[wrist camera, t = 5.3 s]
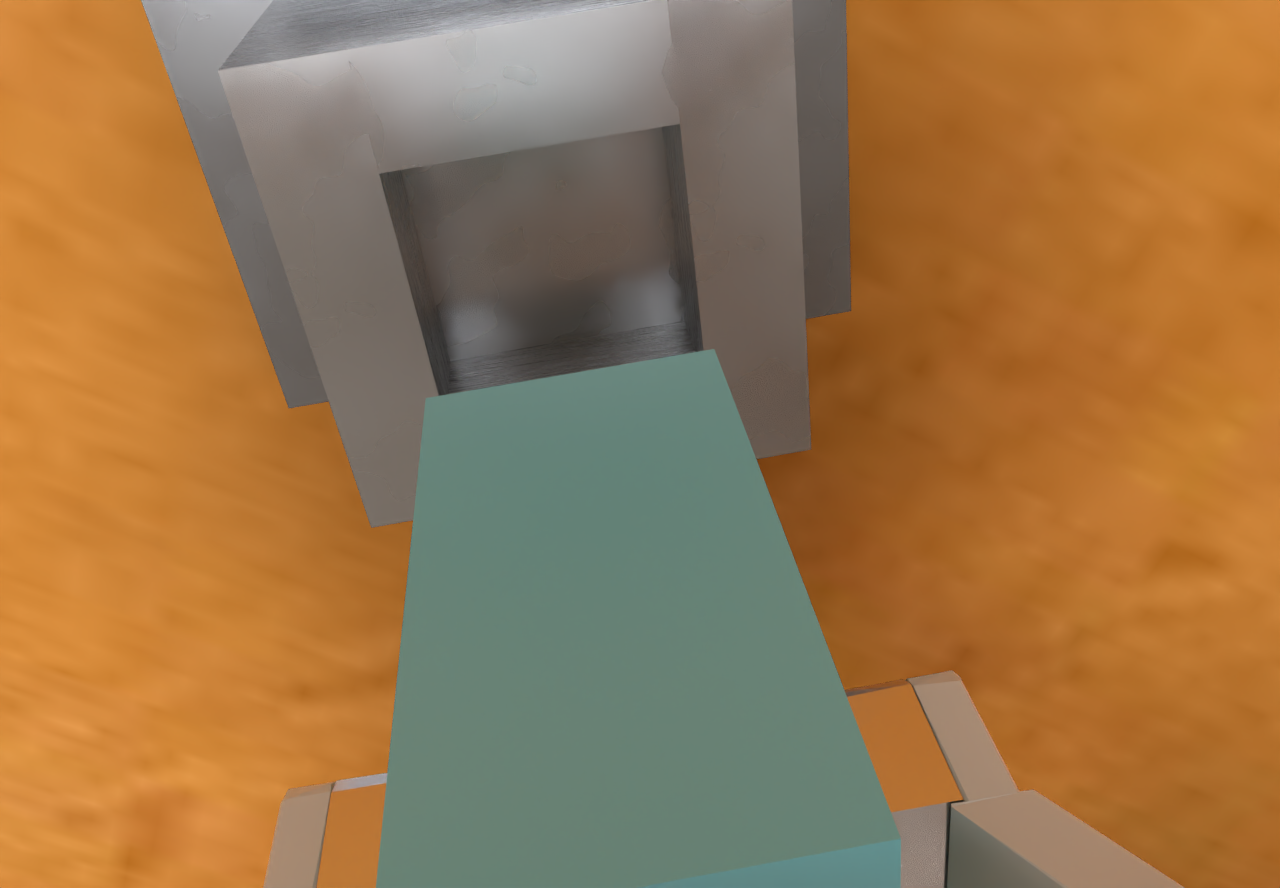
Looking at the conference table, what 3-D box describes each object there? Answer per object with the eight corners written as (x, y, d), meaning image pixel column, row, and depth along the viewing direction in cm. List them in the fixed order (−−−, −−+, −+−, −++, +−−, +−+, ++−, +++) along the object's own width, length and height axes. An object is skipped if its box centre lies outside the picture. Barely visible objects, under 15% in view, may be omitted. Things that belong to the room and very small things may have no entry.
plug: (736, 571, 17) (898, 1102, 10) (485, 615, 17) (482, 1181, 10) (714, 348, 15) (900, 838, 8) (425, 398, 15) (370, 936, 8)
